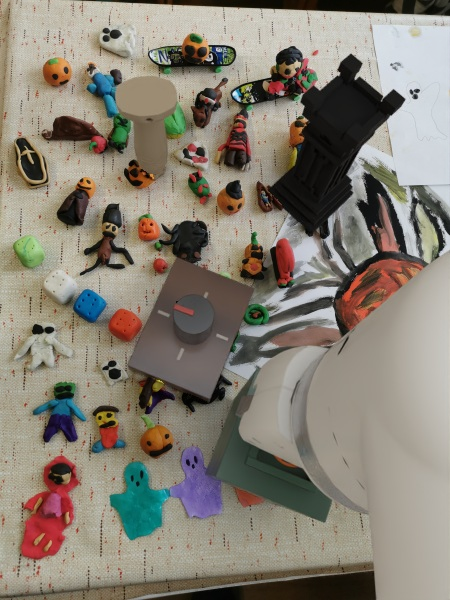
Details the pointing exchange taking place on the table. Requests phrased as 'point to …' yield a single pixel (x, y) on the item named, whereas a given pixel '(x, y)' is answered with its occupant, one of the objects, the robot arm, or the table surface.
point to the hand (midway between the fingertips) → (298, 443)
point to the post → (263, 469)
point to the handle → (148, 118)
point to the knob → (193, 319)
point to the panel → (177, 354)
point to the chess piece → (332, 143)
